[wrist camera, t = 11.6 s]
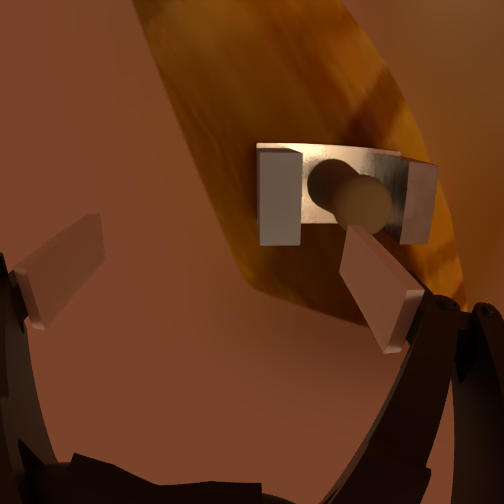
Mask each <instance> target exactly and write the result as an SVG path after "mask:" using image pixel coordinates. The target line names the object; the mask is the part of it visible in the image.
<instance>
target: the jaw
mask: <svg viewBox="0 0 504 504" xmlns="http://www.w3.org/2000/svg"><path fill="white" fill-rule="evenodd" d="M302 179H303V153H301V152H299V151H296V150H294V149H291V148H257V222H258V231H259V241H260V246H272V245H300V232H301V209H302Z"/></svg>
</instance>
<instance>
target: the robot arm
mask: <svg viewBox="0 0 504 504" xmlns="http://www.w3.org/2000/svg"><path fill="white" fill-rule="evenodd" d="M105 261H106V257H105V251H104V243H103V235H102V227H101V217H100V214H88V215H86V216H84V217H83V218H81V219H80V220H79V221H77V222H75V223H74V224H72V225H71V226H69V227H68V228H66V229H65V230H63V231H62V232H60V233H59V234H57V235H56V236H55V237H53V238H52V239H50V240H49V241H47V242H46V243H45V244H43V245H42V246H41V247H39V248H38V249H36V250H35V251H34V252H32V253H31V254H30V255H28V256H27V257H26V258H25V259H23V260H22V261H21V262H19V263H18V264H17V265H15V266H14V269H13V270H12V271H11V272H10V273H8V271H7V268H6V264H5V260H4V256H3V253H1V252H0V504H295V503H293V502H291V501H288V500H286V499H283V498H280V497H277V496H273V495H269V494H264V493H262V487H261V483H234V482H215V481H208V482H200V483H191V484H178V485H156V484H153V483H151V482H148V481H146V480H144V479H142V478H140V477H137V476H135V475H133V474H131V473H129V472H127V471H125V470H123V469H121V468H119V467H117V466H115V465H113V464H109V463H106V462H102V461H99V460H96V459H92V458H89V457H86V456H83V455H80V454H77V453H74V454H73V457H72V460H71V462H66V463H64V462H62V463H59V462H58V461H57V459H56V457H55V454H54V452H53V449H52V446H51V444H50V440H49V437H48V434H47V430H46V427H45V423H44V420H43V416H42V412H41V408H40V404H39V400H38V396H37V392H36V387H35V382H34V376H33V371H32V366H31V359H30V352H29V344H28V336H27V328H26V325H25V323H24V320H25V318H26V317H27V316H29V319H30V321H31V324H32V327H33V328H37V329H42V330H46V329H47V328H48V327H49V326H50V324H51V323H52V322H53V320H54V319H55V318H56V317H57V316H58V314H59V313H60V312H61V311H62V310H63V309H64V307H65V306H66V305H67V304H68V302H69V301H70V300H71V299H72V298H73V297H74V295H75V294H76V293H77V292H78V291H79V290H80V288H81V287H82V286H83V285H84V284H85V283H86V282H87V281H88V279H89V278H90V277H91V276H92V275H93V274H94V273H95V272H96V271H97V269H98V268H99V267H100V266H101V265H102V264H103V263H104V262H105ZM339 273H340V274H341V276H342V278H343V280H344V281H345V283H346V285H347V287H348V288H349V290H350V292H351V294H352V295H353V297H354V299H355V301H356V302H357V304H358V306H359V308H360V310H361V312H362V313H363V315H364V317H365V319H366V321H367V322H368V324H369V326H370V328H371V330H372V332H373V333H374V336H375V337H376V339H377V341H378V343H379V345H380V347H381V349H382V351H383V352H384V353H394V352H401V349H402V347H403V345H404V343H405V340H407V341H408V343H409V345H410V348H409V350H408V352H407V355H406V356H405V359H404V361H403V363H402V365H401V367H400V371H399V373H398V375H397V377H396V379H395V382H394V384H393V386H392V388H391V390H390V392H389V394H388V396H387V398H386V400H385V402H384V404H383V406H382V408H381V410H380V412H379V414H378V416H377V417H376V419H375V421H374V423H373V425H372V426H371V428H370V430H369V432H368V434H367V435H366V437H365V439H364V440H363V442H362V444H361V445H360V447H359V448H358V450H357V452H356V453H355V455H354V456H353V458H352V460H351V461H350V463H349V464H348V466H347V467H346V469H345V470H344V472H343V473H342V475H341V476H340V478H339V479H338V481H337V482H336V483H335V485H334V486H333V487H332V489H331V490H330V491H329V492H328V494H327V495H326V496H325V497H324V499H323V500H322V501H321V502H320V503H319V504H420V503H421V500H422V498H423V495H424V493H425V491H426V488H427V486H428V483H429V480H430V477H431V469H429V468H426V463H427V460H428V457H429V454H430V452H431V449H432V446H433V443H434V440H435V437H436V434H437V430H438V427H439V424H440V420H441V417H442V413H443V409H444V405H445V401H446V397H447V393H448V389H449V384H450V379H451V381H452V391H453V406H454V437H455V442H454V443H455V444H454V445H455V447H454V448H455V449H454V472H453V473H454V474H453V486H452V497H451V504H504V320H503V318H502V316H501V314H500V312H499V311H498V310H497V309H496V308H495V307H494V306H493V305H491V304H489V303H488V304H487V303H482V302H479V303H476V304H475V306H474V309H473V311H472V313H468V312H463V311H460V306H459V305H458V304H457V302H455V301H454V300H453V299H451V298H449V297H446V296H443V295H434V294H433V293H432V292H431V291H430V290H429V289H428V288H427V287H426V286H425V285H424V284H422V282H421V280H420V279H418V277H417V276H416V275H415V274H414V273H413V272H412V271H410V270H408V269H407V268H405V267H403V266H402V265H401V264H400V263H399V262H398V261H397V260H396V259H395V258H394V257H393V256H392V255H391V254H390V253H389V252H388V251H387V250H386V249H385V248H384V247H383V246H382V245H381V244H380V243H379V242H378V241H377V240H376V239H375V238H374V237H373V236H371V235H370V234H369V233H368V232H367V231H366V230H365V229H364V228H363V227H362V226H356V225H348V229H347V235H346V240H345V246H344V251H343V256H342V261H341V266H340V271H339Z"/></svg>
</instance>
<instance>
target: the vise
mask: <svg viewBox="0 0 504 504" xmlns="http://www.w3.org/2000/svg"><path fill="white" fill-rule="evenodd" d="M257 148H291V149H294V150H296V151H299V152H301V153H303V179H302V209H301V223H337V221H336V219H335V217H334V215H333V214H332V213H330V212H328V211H326V210H324V209H322V208H320V207H318V206H317V205H316V204H315V203H314V202H313V201H312V200H311V198H310V196H309V194H308V189H307V181H308V176H309V174H310V172H311V170H312V169H313V168H314V167H315V166H316V165H317V164H318V163H319V162H322V161H324V160H326V159H339V160H342V161H344V162H346V163H347V164H349V165H350V166H351V167H352V168H354V169H355V170H356V171H357V172H358V173H359V174H365V175H369V176H373V177H375V178H376V179H378V180H380V181H381V182H382V183H383V184H384V186H385V187H386V188H387V189H388V191H389V193H390V196H391V199H392V210H391V214H390V218H389V220H388V221H387V223H386V225H385V226H384V227H383V228H382V230H383V231H384V232H386V233H387V234H388V235H389V236H390V237H392V238H393V239H394V240H395V241H396V242H398V243H399V244H427V243H428V238H429V233H430V227H431V221H432V215H433V208H434V201H435V193H436V185H437V175H438V165H434V164H431V163H427V162H423V161H419V160H415V159H411V158H407V157H403V156H401V152H399V151H392V150H384V149H374V148H364V147H353V146H340V145H325V144H303V143H256V154H257ZM257 223H258V222H257Z"/></svg>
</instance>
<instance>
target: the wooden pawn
mask: <svg viewBox="0 0 504 504" xmlns="http://www.w3.org/2000/svg"><path fill="white" fill-rule="evenodd" d="M307 189H308V194H309V196H310V198H311V200H312V201H313V202H314V203H315V204H316V205H317V206H318V207H320V208H322V209H324V210H326V211H328V212H330V213H332V214H333V215H334V217H335V219H336V221H337V223H338V224H339V225H340V226H341V227H342V228H343V229H344V230H345V231H347V229H348V225H356V226H362V227H363V228H364V229H365V230H366V231H367V232H368V233H369V234H370V235H372V234H374V233H376V232H378V231H380V230H381V229H382V228H383V227H384V226H385V225H386V223H387V221H388V220H389V218H390V214H391V210H392V199H391V196H390V193H389V191H388V189H387V188H386V187H385V186H384V184H383V183H382V182H381V181H380V180H378V179H376V178H375V177H373V176H369V175H365V174H359V173H358V172H357V171H356V170H355V169H354V168H352V167H351V166H350V165H349V164H347V163H346V162H344V161H342V160H339V159H326V160H324V161H322V162H319V163H318V164H317V165H316V166H315V167H314V168H313V169H312V170H311V172H310V174H309V176H308V181H307Z"/></svg>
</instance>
